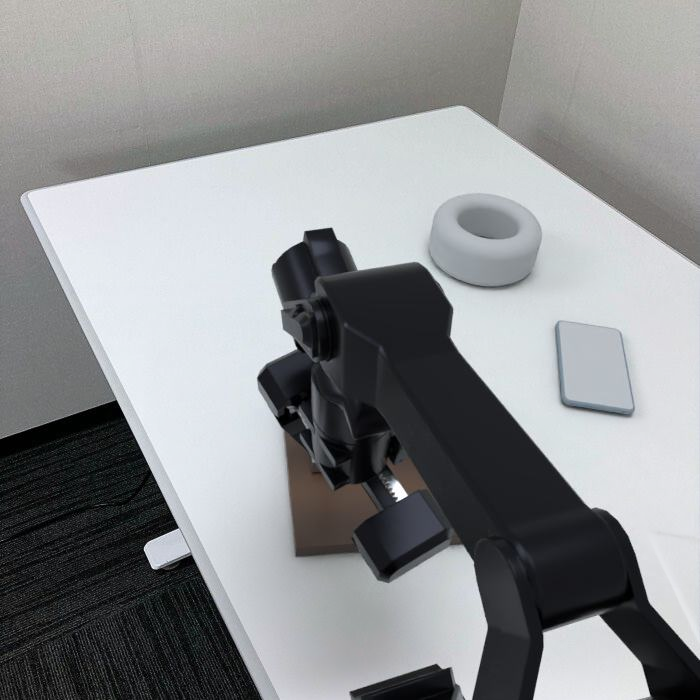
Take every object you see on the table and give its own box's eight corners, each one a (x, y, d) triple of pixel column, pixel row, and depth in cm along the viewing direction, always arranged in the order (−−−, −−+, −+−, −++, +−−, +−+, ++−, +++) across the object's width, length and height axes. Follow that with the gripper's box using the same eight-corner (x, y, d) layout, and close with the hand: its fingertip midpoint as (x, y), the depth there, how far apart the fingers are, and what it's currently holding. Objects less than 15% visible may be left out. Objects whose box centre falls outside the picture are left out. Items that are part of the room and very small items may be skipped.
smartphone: (621, 328, 99) (636, 412, 88) (619, 334, 100) (634, 417, 88) (556, 318, 99) (562, 400, 88) (554, 324, 100) (560, 406, 89)
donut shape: (524, 301, 103) (536, 261, 98) (415, 273, 106) (422, 233, 101) (540, 242, 114) (551, 203, 109) (441, 218, 116) (448, 179, 112)
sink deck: (501, 541, 75) (504, 532, 74) (295, 557, 72) (295, 547, 71) (453, 392, 89) (456, 383, 88) (280, 400, 86) (280, 390, 85)
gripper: (537, 461, 50) (490, 542, 63) (380, 264, 58) (368, 372, 71) (392, 547, 46) (374, 615, 59) (247, 324, 54) (260, 427, 68)
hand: (345, 496), depth 64 cm, fingers open, 9 cm apart
